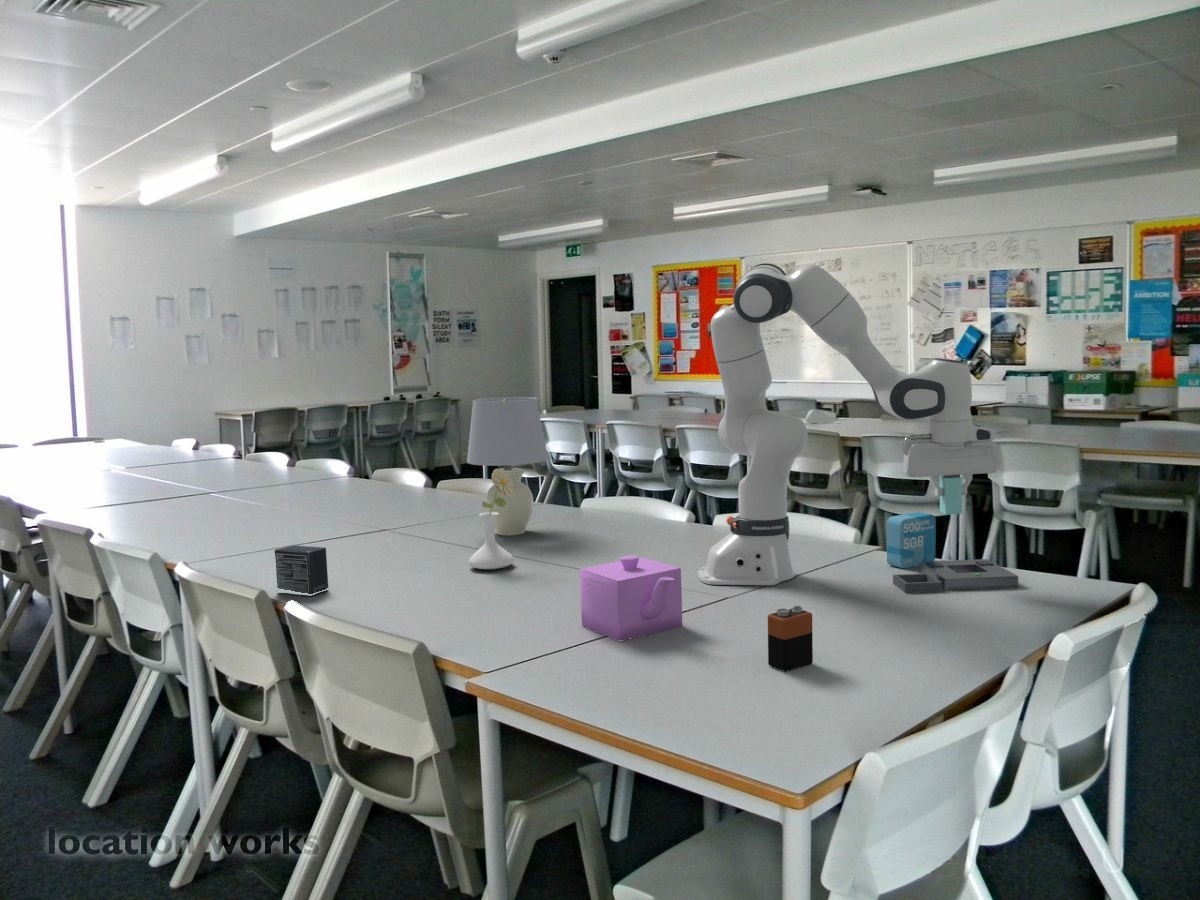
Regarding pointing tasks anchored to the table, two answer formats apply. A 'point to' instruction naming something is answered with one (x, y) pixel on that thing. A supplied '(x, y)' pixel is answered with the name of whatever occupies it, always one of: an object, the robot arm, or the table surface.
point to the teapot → (631, 597)
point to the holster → (917, 583)
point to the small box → (301, 569)
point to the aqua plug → (951, 494)
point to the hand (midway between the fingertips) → (950, 495)
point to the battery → (790, 638)
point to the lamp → (507, 453)
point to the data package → (910, 539)
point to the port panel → (969, 574)
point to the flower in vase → (491, 551)
